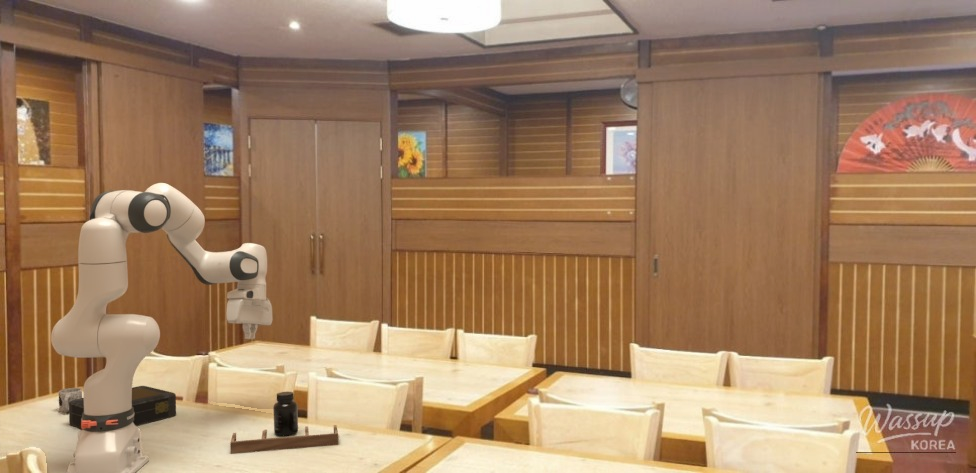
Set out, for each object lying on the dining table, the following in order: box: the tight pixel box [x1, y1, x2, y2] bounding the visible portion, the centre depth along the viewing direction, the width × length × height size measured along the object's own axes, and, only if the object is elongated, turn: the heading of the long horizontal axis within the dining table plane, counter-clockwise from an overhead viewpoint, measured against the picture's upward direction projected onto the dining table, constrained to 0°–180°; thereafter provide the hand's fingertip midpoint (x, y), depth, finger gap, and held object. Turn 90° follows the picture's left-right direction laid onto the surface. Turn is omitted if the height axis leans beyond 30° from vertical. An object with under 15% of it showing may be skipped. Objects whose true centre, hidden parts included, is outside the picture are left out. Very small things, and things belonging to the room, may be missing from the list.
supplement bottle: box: [273, 391, 299, 437], centre depth 216 cm, size 7×7×12 cm
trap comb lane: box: [229, 424, 339, 455], centre depth 211 cm, size 18×29×3 cm, turn 105°
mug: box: [58, 387, 83, 414], centre depth 241 cm, size 10×7×7 cm
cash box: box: [68, 385, 177, 430], centre depth 231 cm, size 25×20×8 cm
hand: (249, 339), depth 230 cm, fingers closed
